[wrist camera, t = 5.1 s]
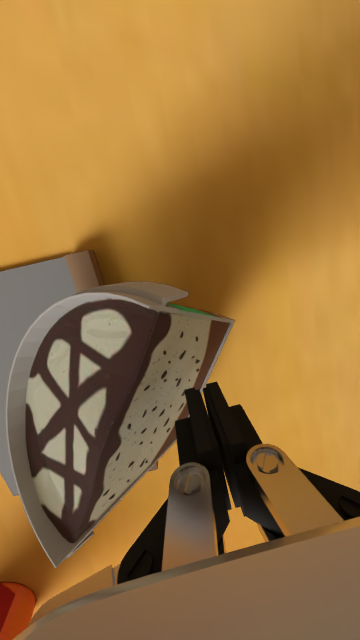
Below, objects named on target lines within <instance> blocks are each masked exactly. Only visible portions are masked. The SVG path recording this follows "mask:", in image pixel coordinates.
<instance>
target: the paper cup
mask: <svg viewBox="0 0 360 640" xmlns="http://www.w3.org/2000/svg"><path fill="white" fill-rule="evenodd" d="M35 601H36V598H35V595H34V593H33V592H32V591H31V590H30V589H29V588H28V587H26V586H24V585H21V584H18V583H12V582H3V583H0V640H13V639H14V638H15V637H16V636H17V635H19V634H20V633H21V632H22V631H24V630H25V629H26V628H27V627H28V625H29V623H30V621H31V617H32V614H33V610H34V606H35Z"/></svg>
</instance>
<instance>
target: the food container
mask: <svg viewBox="0 0 360 640" xmlns="http://www.w3.org/2000/svg"><path fill="white" fill-rule="evenodd" d="M188 293H189V292H187V291H184V290H181V289H178V288H175V287H172V286H170V285H166V284H160V283H154V282H148V281H136V282H122V283H116V284H110V285H104V286H99V287H94V288H90V289H86V290H82V291H80V292H78V293H76V294H74V295H72V296H70V297H67V298H65V299H63V300H61V301H59V302H57V303H55V304H53V305H52V306H51V307H49V308H48V309H47V310H46V311H44V312H43V313H42V314H41V315H40V316H39V317H38V318H37V319H36V320H35V321H34V323H33V324H32V325H31V326H30V327H29V329H28V331H27V332H26V334H25V336H24V337H23V339H22V341H21V343H20V345H19V347H18V350H17V352H16V355H15V357H14V361H13V364H12V368H11V371H10V376H9V382H8V388H7V397H6V433H7V443H8V451H9V456H10V461H11V467H12V471H13V475H14V479H15V482H16V486H17V490H18V493H19V496H20V499H21V501H22V504H23V507H24V510H25V512H26V515H27V517H28V519H29V522H30V524H31V526H32V529H33V531H34V533H35V535H36V536H37V538H38V540H39V542H40V544H41V546H42V547H43V549H44V551H45V553H46V554H47V556H48V557H49V559H50V561H51V562H52V564H53V565H54V567H55V569H56V568H57V567H58V566H59V565H60V564H61V563H62V562H63V561H64V560H65V559H66V558H67V557H68V558H69V557H70V556H71V555H72V554H73V553H74V552H76V551H77V550H78V549H79V548H80V547H81V546H82V545H83V544H84V543H85V542H86V541H87V540H88V539H90V538H91V537H92V536H93V534H94V532H93V529H94V528H95V527H96V526H97V525H98V524H99V523H100V522H101V521H102V520H103V518H104V517H105V516H106V515H107V514H108V513H109V512H110V511H111V510H112V509H113V508H114V507H115V506H116V505H117V504H118V502H119V501H120V500H121V499H122V498H123V497H124V496H125V495H126V494H127V493H128V492H129V491H130V490H131V489H132V488H133V486H134V485H135V484H136V483H137V482H138V481H139V480H140V479H141V478H142V477H143V476H144V475H145V474H146V473H147V472H148V471H149V469H150V468H151V467H152V466H153V465H154V464H155V463H156V462H157V461H158V460H159V459H160V458H161V457H162V456H163V455H164V453H165V452H166V451H167V450H168V449H169V448H170V447H171V446H172V445H173V444H174V443H175V442H176V441H177V437H176V429H175V421H176V420H180V419H184V418H187V417H190V416H189V411H188V406H187V402H186V397H185V392H184V390H185V389H189V388H193V387H195V390H197V389H200V392H201V394H202V391H203V388H204V387H205V385H206V383H207V380H208V378H209V376H210V374H211V372H212V370H213V367H214V365H215V363H216V361H217V359H218V356H219V354H220V352H221V350H222V348H223V346H224V343H225V341H226V339H227V337H228V335H229V332H230V330H231V328H232V326H233V324H234V322H235V320H233V319H230V318H227V317H225V316H222V315H219V314H215V313H211V312H206V311H202V310H197V309H192V308H188V307H183V306H179V305H174V304H170V303H167V302H171V301H174V300H178V299H181V298H184V297H188Z"/></svg>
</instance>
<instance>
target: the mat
mask: <svg viewBox="0 0 360 640" xmlns="http://www.w3.org/2000/svg"><path fill="white" fill-rule="evenodd" d="M76 293H77V291H76V288H75V285H74V282H73V279H72V277H71V274H70V271H69V268H68V265H67V262H66V259H65V257H61V258H57V259H52V260H48V261H44V262H39V263H35V264H31V265H27V266H22V267H18V268H14V269H9V270H5V271H1V272H0V473H1V475H2V477H3V478H4V480H5V482H6V484H7V485H8V487H9V489H10V491H11V493H12V494H13V496H16V495H19V493H18V490H17V486H16V482H15V479H14V475H13V471H12V467H11V461H10V456H9V451H8V443H7V433H6V397H7V388H8V382H9V376H10V371H11V368H12V364H13V361H14V357H15V355H16V352H17V350H18V347H19V345H20V343H21V341H22V339H23V337H24V336H25V334H26V332H27V331H28V329H29V327H30V326H31V325H32V324H33V323H34V321H35V320H36V319H37V318H38V317H39V316H40V315H41V314H42V313H43V312H44V311H46V310H47V309H48V308H49V307H51V306H52V305H53V304H55V303H57V302H59V301H61V300H63V299H65V298H67V297H70V296H72V295H74V294H76Z"/></svg>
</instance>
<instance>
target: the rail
mask: <svg viewBox="0 0 360 640" xmlns="http://www.w3.org/2000/svg"><path fill="white" fill-rule="evenodd" d="M65 259H66V262H67V265H68V268H69V271H70V274H71V277H72V279H73V282H74V285H75V288H76V291H77V293H78V292H80V291H82V290H86V289H90V288H94V287H99V286H104V282H103V279H102V276H101V272H100V269H99V266H98V263H97V260H96V257H95V253H94V250H86V251H82V252H77V253H73V254H69V255H65ZM156 469H158V461H157V462H156V463H155V464H154V465H153V466H152V467H151V468H150V469H149V471H152V470H156Z"/></svg>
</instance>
